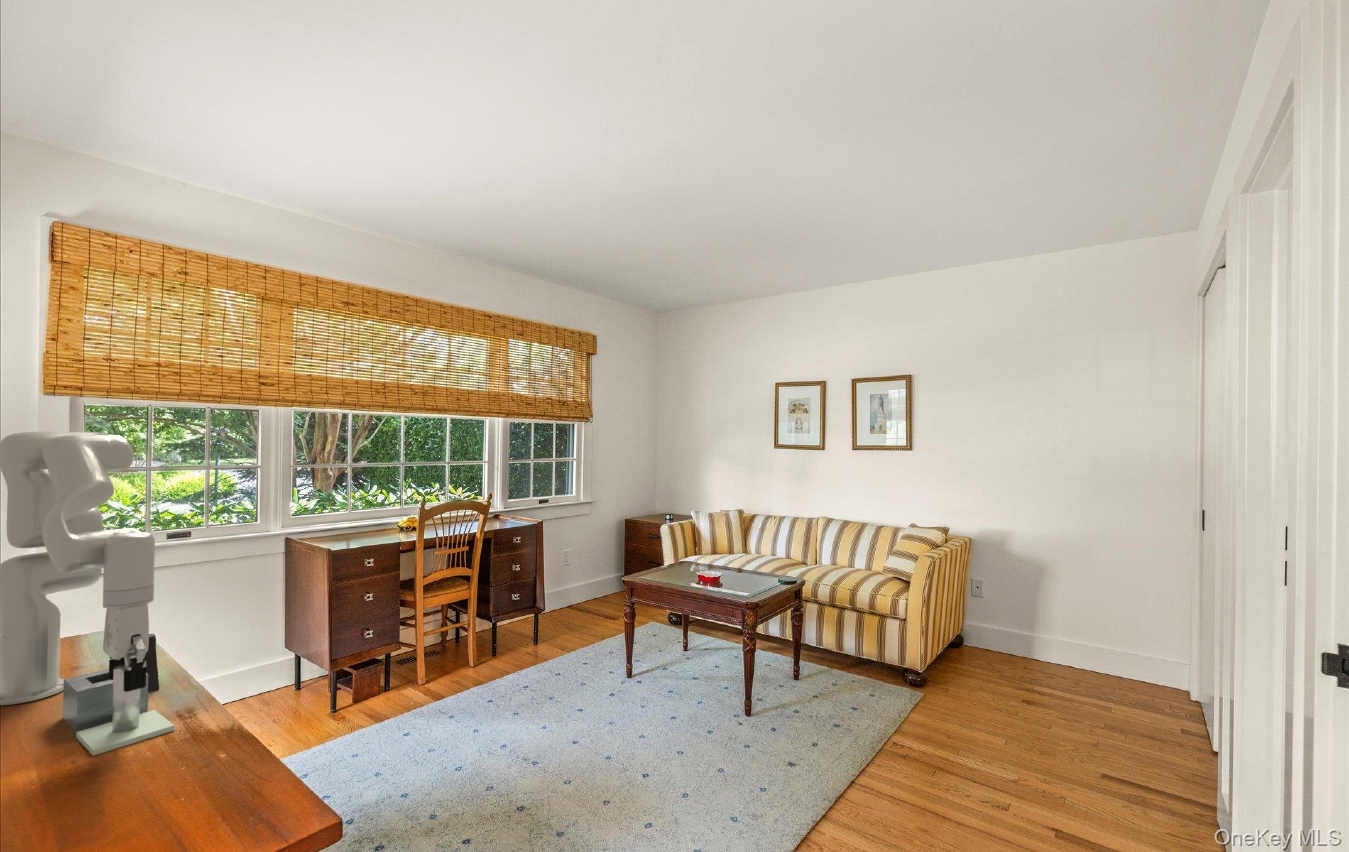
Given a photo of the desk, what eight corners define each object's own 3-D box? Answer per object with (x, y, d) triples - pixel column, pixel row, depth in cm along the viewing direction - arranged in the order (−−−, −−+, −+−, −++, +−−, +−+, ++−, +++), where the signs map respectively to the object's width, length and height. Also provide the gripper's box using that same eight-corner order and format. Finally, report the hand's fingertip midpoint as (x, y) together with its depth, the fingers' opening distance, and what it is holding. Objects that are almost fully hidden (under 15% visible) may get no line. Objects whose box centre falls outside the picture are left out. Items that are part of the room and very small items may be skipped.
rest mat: (76, 737, 119) (76, 731, 119) (154, 714, 129) (154, 709, 129) (93, 755, 113) (93, 750, 113) (174, 730, 122) (174, 725, 122)
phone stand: (114, 688, 143) (115, 636, 143) (147, 680, 147) (148, 630, 148) (125, 698, 137) (126, 644, 138) (159, 689, 142) (160, 637, 142)
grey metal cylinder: (109, 729, 120) (110, 667, 121) (135, 721, 124) (137, 661, 124) (115, 735, 118) (116, 672, 118) (142, 727, 121) (143, 666, 122)
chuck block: (62, 717, 128) (63, 679, 128) (131, 699, 137) (132, 663, 137) (76, 732, 121) (77, 691, 121) (147, 712, 130) (148, 674, 130)
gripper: (91, 593, 123) (89, 679, 123) (116, 607, 113) (114, 700, 113) (139, 586, 130) (137, 668, 129) (167, 598, 120) (165, 687, 119)
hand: (127, 683), depth 121 cm, fingers open, 9 cm apart
